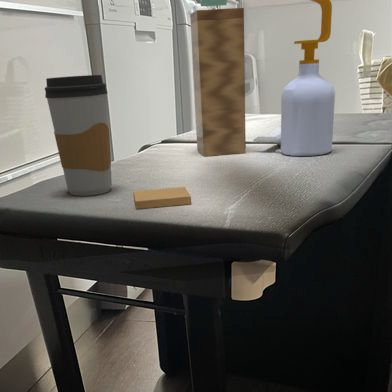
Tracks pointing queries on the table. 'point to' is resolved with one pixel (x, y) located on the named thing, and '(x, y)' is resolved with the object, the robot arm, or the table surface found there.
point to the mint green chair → (213, 2)
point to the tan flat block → (161, 197)
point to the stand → (219, 80)
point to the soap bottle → (309, 101)
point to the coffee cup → (81, 132)
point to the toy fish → (271, 137)
